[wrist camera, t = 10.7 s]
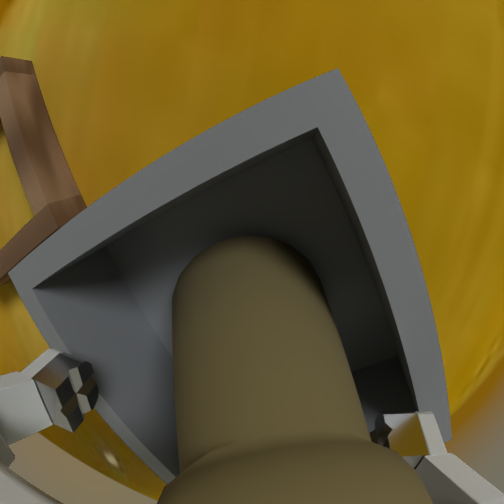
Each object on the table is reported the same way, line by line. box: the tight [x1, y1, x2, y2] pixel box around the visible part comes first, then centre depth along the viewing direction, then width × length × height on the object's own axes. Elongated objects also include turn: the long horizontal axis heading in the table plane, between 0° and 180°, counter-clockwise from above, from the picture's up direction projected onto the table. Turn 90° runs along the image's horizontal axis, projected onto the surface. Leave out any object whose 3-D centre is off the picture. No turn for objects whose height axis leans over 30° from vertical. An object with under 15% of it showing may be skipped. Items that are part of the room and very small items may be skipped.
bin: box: [8, 68, 452, 485], centre depth 11 cm, size 12×12×6 cm
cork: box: [157, 236, 434, 504], centre depth 7 cm, size 6×6×11 cm
